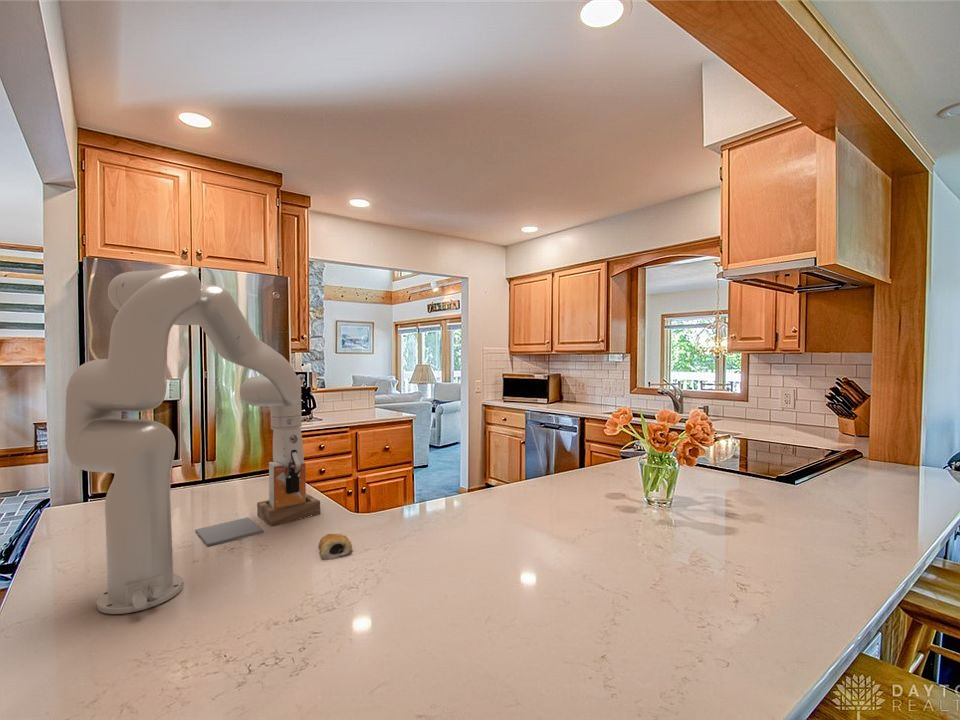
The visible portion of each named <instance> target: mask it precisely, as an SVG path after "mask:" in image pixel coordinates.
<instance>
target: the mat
mask: <svg viewBox="0 0 960 720" xmlns="http://www.w3.org/2000/svg"><path fill="white" fill-rule="evenodd" d="M194 530H195V533H196V535H197V534H198V535H197V536H198V537H199V538H200V539H201V541H202V540H203V541H202V542H203V543H204V544H205V546H206V547H211V546H212V547H214V546H216V545H219V544H223V543H227V542H231V541H235V540H236V541H237V540H239V539H242V538H247V537H251V536H255V535H259V534H262V533H264V528H263V527H261V526H259V524H258V523H256V522H255V521H253V520H252V519H251V518H250V517H248V516H247V517H244V518H239V519H235V520H231V521H227V522H223V523H222V522H221V523H218V524H217V523H216V524H213V525H210V526H204V527H200V528H195V529H194Z"/></svg>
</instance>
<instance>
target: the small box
mask: <svg viewBox="0 0 960 720" xmlns="http://www.w3.org/2000/svg"><path fill="white" fill-rule="evenodd" d="M288 465H289V466H290V465H294V464H288ZM306 465H307V464H306V461H304V463H303V465H301V467H300V472H299V474H300V476H299V492H296V493H291V494H287V493H286V478H287V472H286V468H285V467H283V465H281V464H279V463H277V462H274V461H269V462H268V500H269V506H271V507H272V508H274V509H280V508H284V507H288V506H293V505H297V504H301V503H306V494H307V492H306V491H307V489H306V488H307V487H306V486H307V485H306V484H307V483H306V482H307V481H306V480H307V477H306V476H307V474H306V473H307V472H306V471H307V469H306V468H307V467H306ZM292 469H293V468H291V469H290V472H291V470H292Z"/></svg>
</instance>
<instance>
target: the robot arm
mask: <svg viewBox="0 0 960 720" xmlns="http://www.w3.org/2000/svg"><path fill="white" fill-rule="evenodd" d="M107 297H108V299H109V302H110V303H111V305H112V306H113V307H114V308H115V309H116V310H117V311H118V312H117V313H116V315H115V317H114V319H113V321H112V324H111V328H110V336H109V344H108V345H109V346H108V356H107V358H100V359H99V358H98V359H94V360H89V361H86V362H84V363H83V364H81V365H80V366H78V367H77V368H76V369H75V370H74V371H73V373H72V375H71V376H70V378H69V380H68V383H67V385H66V392H65V417H64V418H65V420H64V421H65V423H64V424H65V425H64V426H65V429H64V443H65V444H64V445H65V452H66V455H67V458H68V460H69V462H70V463H71V464H72V465H73V466H74V467H75V468H77V469H79V470H82V471H85V472H93V473H107V474H109V473H110V474H114V476H113V479H112V482H111V484H110V486H109V487H108V490H107V491H106V492H107V493H106V495H105V501H104V516H105V541H106V543H105V544H106V572H107V575H106V576H107V577H106V578H107V589H106V590H105V591H104V592H102V593H101V594H100V595H99V596H98V598H97V600H96V609H97V610H98V611H99V612H101V613H104V614H105V615H122V614H131V613H135V612H139V611H143V610H147V609H150V608H154V607H156V606H158V605H160V604H163V603H164V602H167V601H169V600H171V599H172V598H173V597H175V596H176V595H177V594H179V593H180V592H181V590H182V589H183V588H184V578H183V577H182V576H181V575H179V574H176V573H174V568H173V567H174V565H173V564H174V563H173V539H172V538H173V537H172V536H173V534H172V532H173V531H172V528H173V527H172V506H171V505H172V502H171V482H172V481H171V478H172V469H173V463H174V460H175V455H176V454H175V453H176V445H177V444H176V439H175V435H174V433H173V431H172V430H171V428H169V427H168V426H167V425H165V424H163V423H161V422H159V421H155V420H151V419H144V418H143V419H142V418H141V419H140V418H139V419H138V418H122V414H123V413H122V412H124V413H125V412H128V413H129V412H131V413H132V412H134V413H135V412H139V413H140V412H148V411H151V410H154V409H156V408H159V406H161V405H162V403H163V402H164V400H165V399H166V395H167V389H168V387H167V385H168V384H167V383H168V381H167V380H168V343H169V335H170V332H171V330H172V327H173V326H174V325H175V326H200V328H201V329H202V331H203V332H204V333H205V335H206V336H207V337H208V339H209V342H211V343H212V344H213V345H212V346H213V347H214V349H215V350H216V351H217V353H218V355H219V356H220V357H221V358H222V359H224V360H225V361H228V362H230V363H232V364H235V365H238V366H240V367H244V368H246V369H250V370H253V371H255V372H257V373H258V374H260V375H256V376H255V375H254V376H251V377H249V378H246V379H245V380H244V381H243V382H242V384H241V386H240V389H239V396H240V398H241V400H242V401H243V402H244V403H245V404H246V405H248V406H249V405H250V406H252V407H270V429H271V430H272V431H273V432H272V433H273V434H272V462H277V463H279V464H281V465H283V467H285V468H286V472H287V478H286V493H287V494H291V493H296V492H299V476H300V474H299V472H300V467H301V465H303V463H304V462H305V460H304V459H305V458H304V446H303V445H304V443H303V435H302V430H301V428H302V381H301V378H300V377H299V376H298V375H297V374H296V372H295V370H294V368H293V366H292V365H291V363H290V362H289V361H288V360H287V359H286V358H285V356H284V355H282V354H281V353H279V352H277V351H276V350H275V349H274V348H273V347H271V346H270V345H268V344H266V343H265V342H264V341H261V340H260V339H259V338H257V336H256V334H255V333H254V331H253V329H252V327H251V326H250V324H249V323H248V322H247V319H246V318H245V316H244V314H243V312H242V311H241V309H240V307H239V306H238V304H237V302H236V301H235V299H234V298H233V295H232V294H231V292H229V290H227V289H226V288H224V287H222V286H221V285H216V284H215V285H213V284H204V285H203V284H202V283H201V279H199V277H198V276H197V275H196V274H195V273H193V272H192V271H189V270H186V269H181V268H163V269H159V268H158V269H151V270H150V269H148V270H133V271H127V272H122V273H119V274H118V275H116V276H114V278H112V279H111V281H110V283H109V284H108V288H107ZM288 464H294V465H290V466H289V465H288ZM291 468H293V469H292V470H291V472H290V469H291Z"/></svg>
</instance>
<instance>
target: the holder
mask: <svg viewBox="0 0 960 720" xmlns="http://www.w3.org/2000/svg"><path fill="white" fill-rule="evenodd" d="M256 507H257V517H259V518H260V519H261V520H262V521H264V522H265V523H266V522H267V524H268V525H269V526H271V527H274V526H278V525H283V524H286V522H287V523H291V522H294V520H295V521H298V520H297V519H299V520H301V519H300V518H303V519H305V518H304V517H307V518H309V517H308V516H311V515H315V516H317V515H316V514H319V515H321V500H319V499H317V498H315V497H314V496H312V495H310V494H308V493H306V503H301V504H297V505H293V506H288V507H284V508H280V509H274V508H272V507H271V506H269V499H268V500H263V501H258V502H256ZM311 517H312V516H311ZM290 521H291V522H290ZM282 523H283V524H282Z"/></svg>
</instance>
